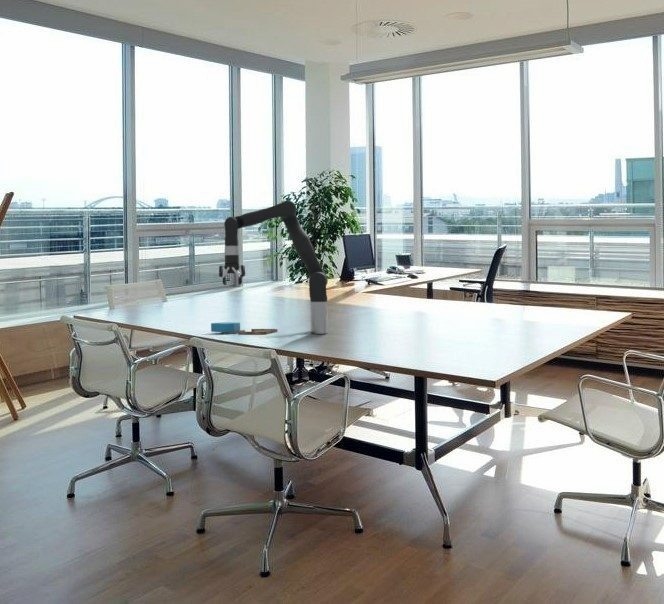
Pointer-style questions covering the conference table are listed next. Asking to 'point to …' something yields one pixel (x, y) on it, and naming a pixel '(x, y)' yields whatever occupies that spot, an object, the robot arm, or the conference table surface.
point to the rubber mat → (232, 332)
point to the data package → (225, 327)
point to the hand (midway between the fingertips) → (232, 284)
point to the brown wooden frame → (267, 331)
